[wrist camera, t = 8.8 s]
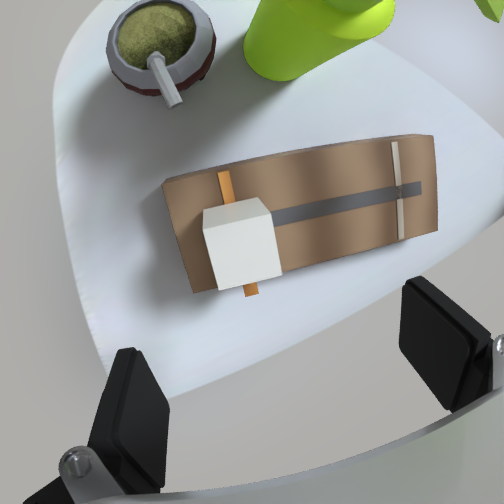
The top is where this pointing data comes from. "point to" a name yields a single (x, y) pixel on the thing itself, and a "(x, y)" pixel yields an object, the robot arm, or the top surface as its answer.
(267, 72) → the soap dispenser
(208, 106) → the top surface
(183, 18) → the mate gourd
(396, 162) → the fader console
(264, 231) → the fader knob
